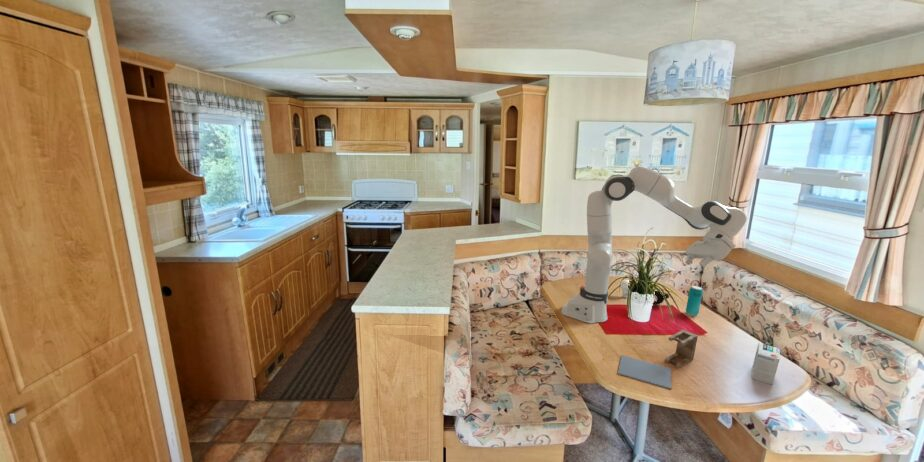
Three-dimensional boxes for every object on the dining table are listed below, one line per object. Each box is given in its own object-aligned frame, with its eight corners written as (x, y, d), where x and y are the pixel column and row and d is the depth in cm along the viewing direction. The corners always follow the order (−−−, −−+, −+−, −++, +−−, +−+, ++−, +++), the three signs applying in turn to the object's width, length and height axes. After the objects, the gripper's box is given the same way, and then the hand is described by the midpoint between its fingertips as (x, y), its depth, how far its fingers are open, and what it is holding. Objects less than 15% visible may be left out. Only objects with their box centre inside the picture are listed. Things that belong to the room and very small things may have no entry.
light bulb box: (752, 365, 151) (758, 341, 149) (773, 372, 147) (780, 348, 144) (750, 378, 143) (757, 352, 141) (773, 385, 139) (780, 359, 136)
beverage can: (699, 317, 192) (705, 290, 189) (687, 316, 193) (692, 288, 190) (695, 312, 198) (700, 285, 194) (683, 311, 199) (688, 284, 195)
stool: (678, 352, 159) (682, 329, 156) (693, 359, 154) (697, 335, 152) (664, 361, 153) (668, 336, 150) (679, 368, 148) (684, 343, 145)
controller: (648, 299, 213) (651, 282, 211) (668, 307, 202) (671, 290, 200) (643, 300, 211) (646, 283, 209) (663, 309, 201) (666, 291, 198)
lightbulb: (618, 298, 212) (621, 280, 210) (618, 294, 218) (620, 277, 215) (630, 300, 210) (633, 282, 208) (630, 296, 216) (632, 278, 213)
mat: (617, 373, 143) (617, 372, 143) (621, 356, 155) (621, 355, 155) (670, 389, 135) (671, 388, 135) (670, 369, 147) (670, 368, 147)
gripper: (693, 235, 170) (673, 258, 169) (727, 235, 149) (705, 261, 149) (704, 245, 170) (684, 267, 169) (739, 246, 149) (716, 271, 149)
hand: (694, 264), depth 159 cm, fingers open, 8 cm apart
